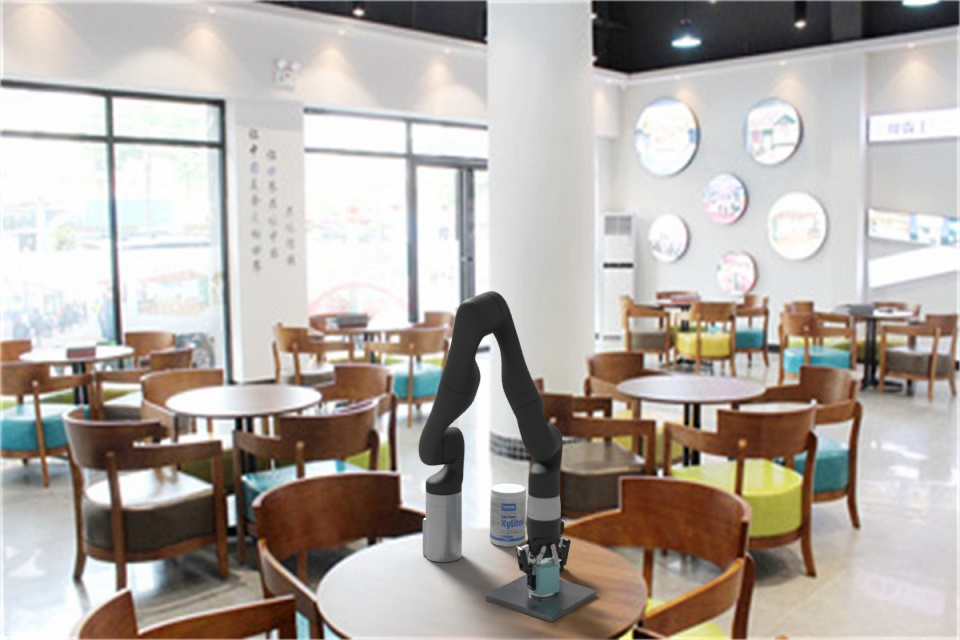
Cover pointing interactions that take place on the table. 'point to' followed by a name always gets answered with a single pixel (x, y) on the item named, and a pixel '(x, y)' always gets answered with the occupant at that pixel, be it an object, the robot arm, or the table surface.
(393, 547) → the table surface
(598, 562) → the table surface
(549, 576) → the teal cube with window
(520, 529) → the supplement tub
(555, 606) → the post base
